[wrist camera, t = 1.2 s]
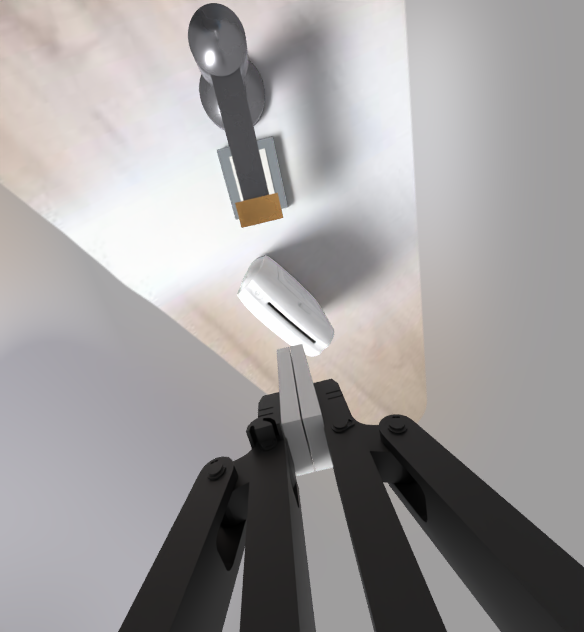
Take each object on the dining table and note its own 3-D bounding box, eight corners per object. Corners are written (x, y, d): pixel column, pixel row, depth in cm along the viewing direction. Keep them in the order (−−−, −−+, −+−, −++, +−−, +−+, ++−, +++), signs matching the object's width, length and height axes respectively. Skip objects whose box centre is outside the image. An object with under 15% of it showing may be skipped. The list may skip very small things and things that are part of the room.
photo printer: (240, 274, 35) (225, 301, 23) (263, 248, 34) (260, 262, 22) (300, 326, 37) (314, 374, 26) (323, 303, 37) (348, 342, 25)
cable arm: (189, 34, 22) (178, 8, 19) (240, 22, 22) (236, -6, 19) (242, 227, 26) (239, 228, 24) (283, 217, 26) (285, 217, 24)
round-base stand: (192, 65, 28) (169, 20, 21) (255, 50, 28) (251, 0, 21) (212, 138, 30) (197, 117, 23) (271, 124, 30) (272, 99, 23)
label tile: (218, 152, 30) (216, 149, 29) (272, 139, 30) (272, 136, 29) (236, 219, 32) (235, 219, 31) (287, 207, 32) (287, 207, 31)
